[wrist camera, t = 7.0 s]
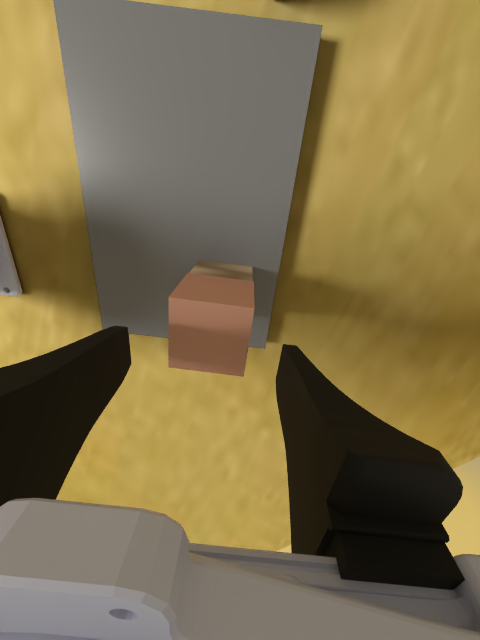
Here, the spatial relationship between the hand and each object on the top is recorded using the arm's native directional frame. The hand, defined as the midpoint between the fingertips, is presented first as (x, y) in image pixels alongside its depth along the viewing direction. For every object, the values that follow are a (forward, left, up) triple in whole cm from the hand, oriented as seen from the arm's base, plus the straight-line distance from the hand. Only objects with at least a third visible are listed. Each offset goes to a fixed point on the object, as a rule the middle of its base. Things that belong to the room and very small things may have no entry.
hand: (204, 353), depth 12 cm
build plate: (-3, +5, -10) cm, 12 cm away
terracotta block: (0, 0, -5) cm, 5 cm away
